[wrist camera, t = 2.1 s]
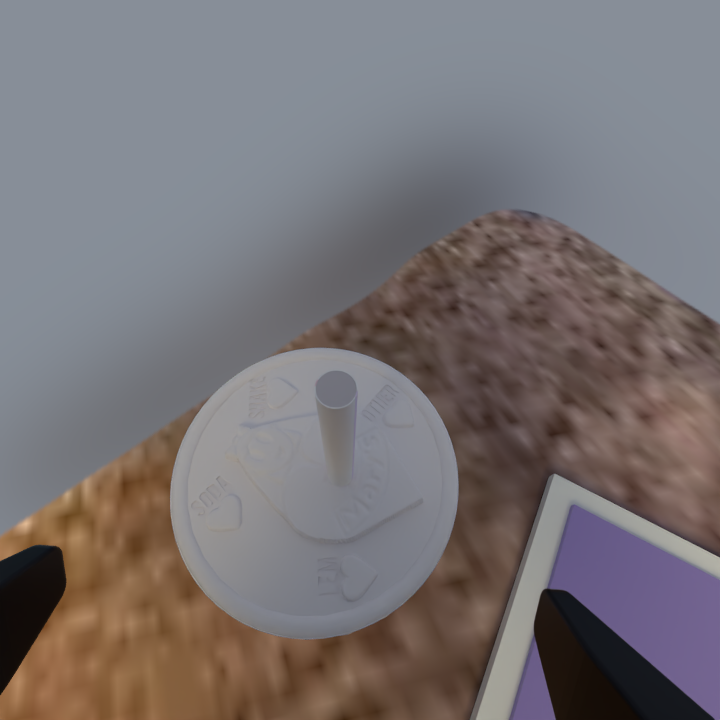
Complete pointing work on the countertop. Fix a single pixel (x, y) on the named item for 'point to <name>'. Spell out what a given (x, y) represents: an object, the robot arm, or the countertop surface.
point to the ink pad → (607, 601)
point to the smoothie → (314, 493)
